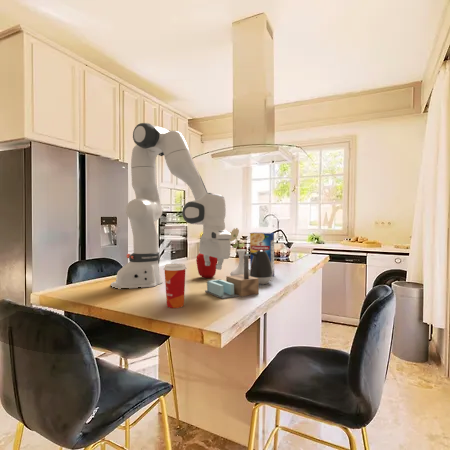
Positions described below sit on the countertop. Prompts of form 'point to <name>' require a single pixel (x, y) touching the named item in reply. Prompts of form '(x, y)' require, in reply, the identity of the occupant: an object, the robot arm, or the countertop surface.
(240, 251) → the flower in vase
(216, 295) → the mat
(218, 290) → the c link
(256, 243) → the beverage box
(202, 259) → the apple
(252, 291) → the stand
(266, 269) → the pump dispenser
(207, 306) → the countertop surface
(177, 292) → the paper cup
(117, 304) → the countertop surface
